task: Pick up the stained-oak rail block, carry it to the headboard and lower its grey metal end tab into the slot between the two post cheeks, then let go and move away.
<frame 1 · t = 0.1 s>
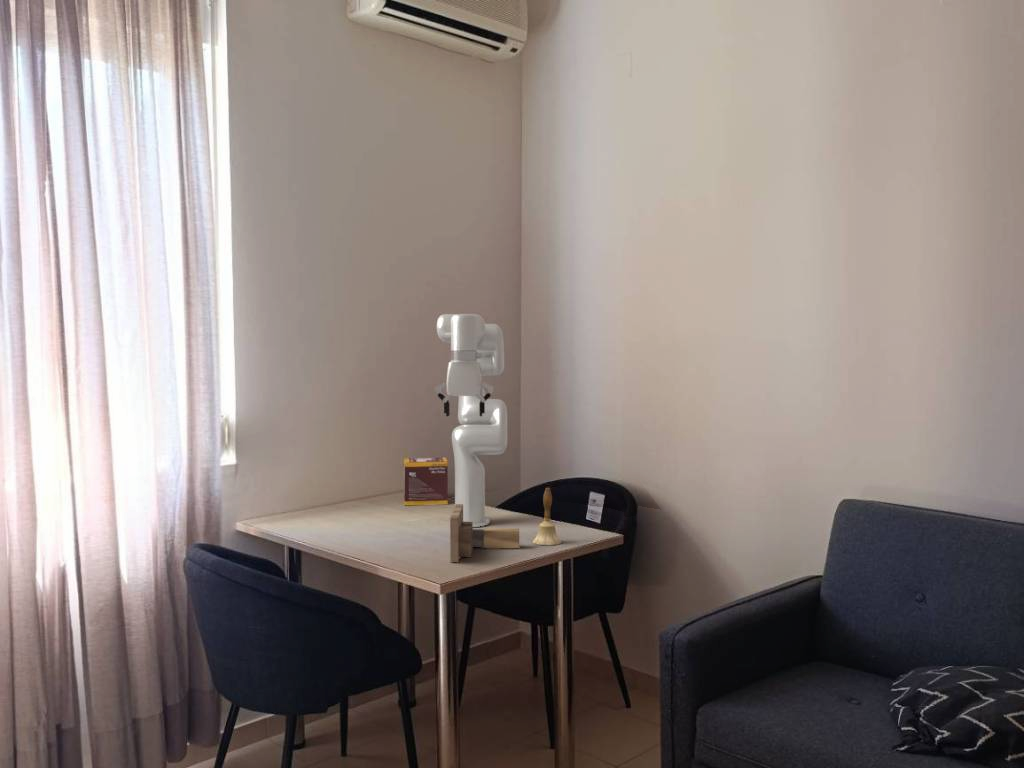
hand: (464, 415, 273), 37 cm above the table, tool pointing down, fingers open, 9 cm apart
supplement box: (425, 503, 336), on the table
rail: (501, 547, 267), on the table
hand bell: (547, 543, 272), on the table
headboard: (466, 553, 259), on the table
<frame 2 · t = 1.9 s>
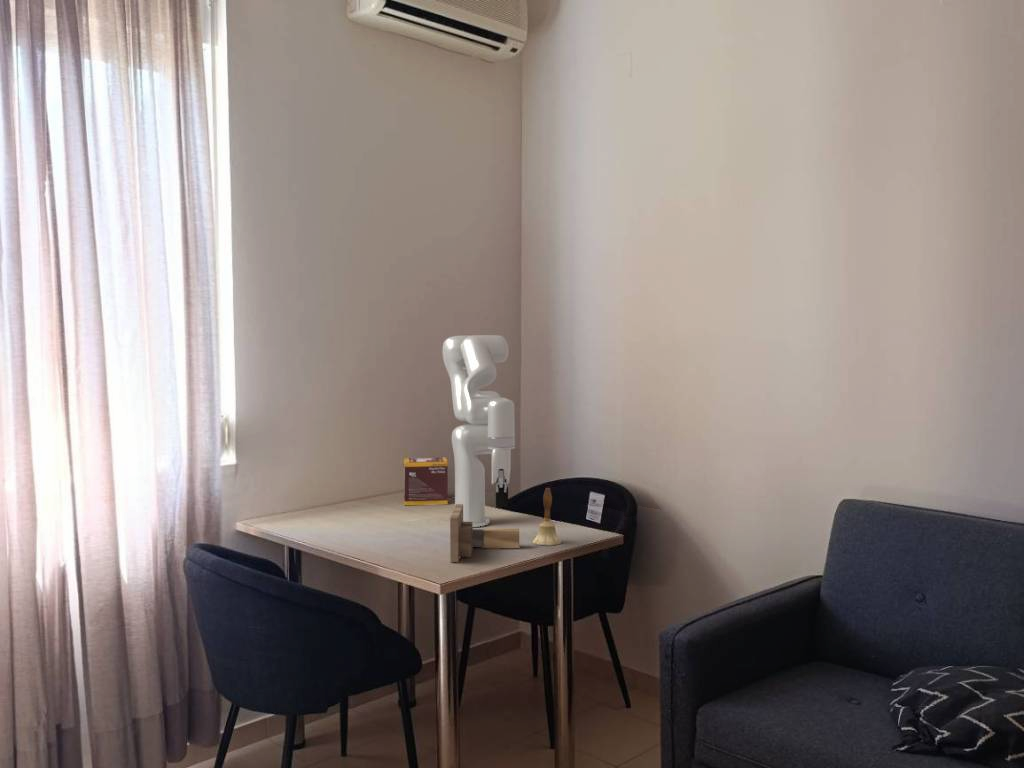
hand: (502, 503, 265), 13 cm above the table, tool pointing down, fingers open, 9 cm apart
nothing on the table moved.
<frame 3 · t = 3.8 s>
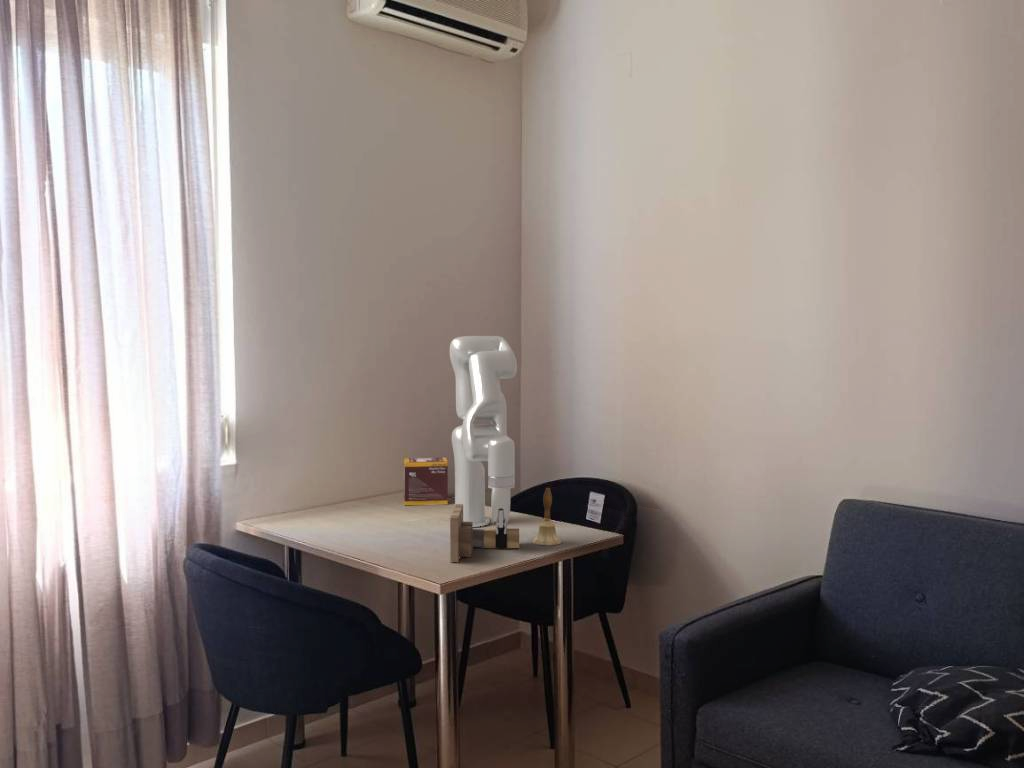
hand: (501, 545, 267), 0 cm above the table, tool pointing down, fingers closed on rail, 3 cm apart
rail: (501, 547, 267), on the table, touching gripper
everything else where it was.
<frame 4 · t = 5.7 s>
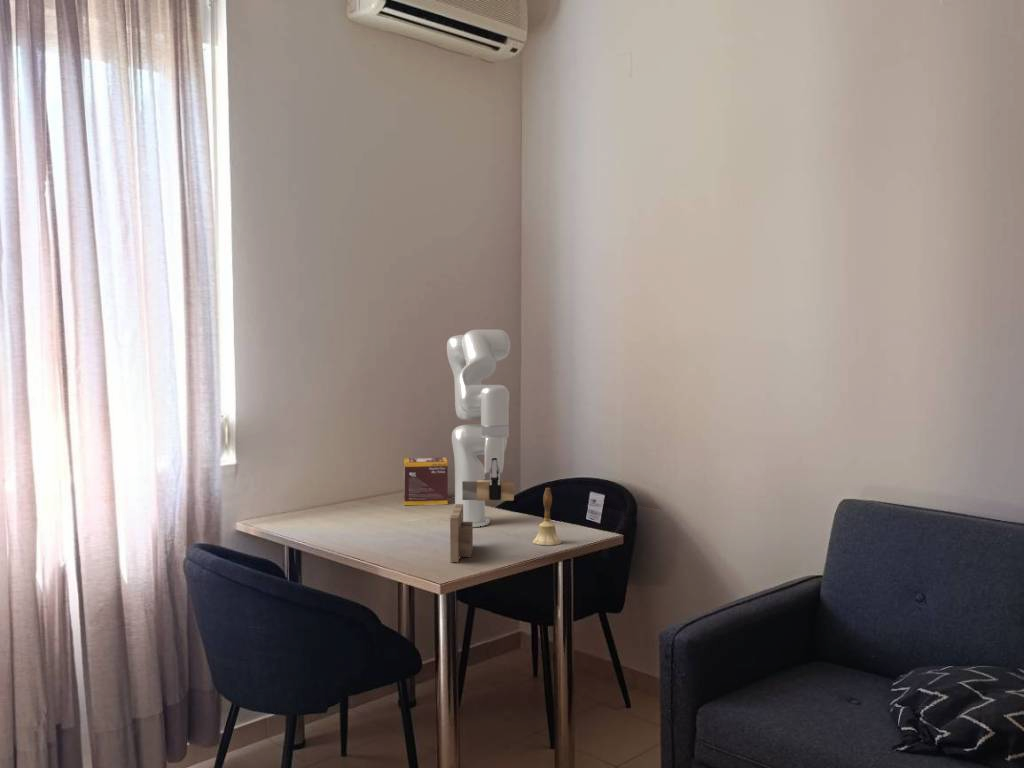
hand: (495, 497, 258), 16 cm above the table, tool pointing down, fingers closed on rail, 3 cm apart
rail: (495, 499, 258), point 15 cm above the table, touching gripper
everything else where it was.
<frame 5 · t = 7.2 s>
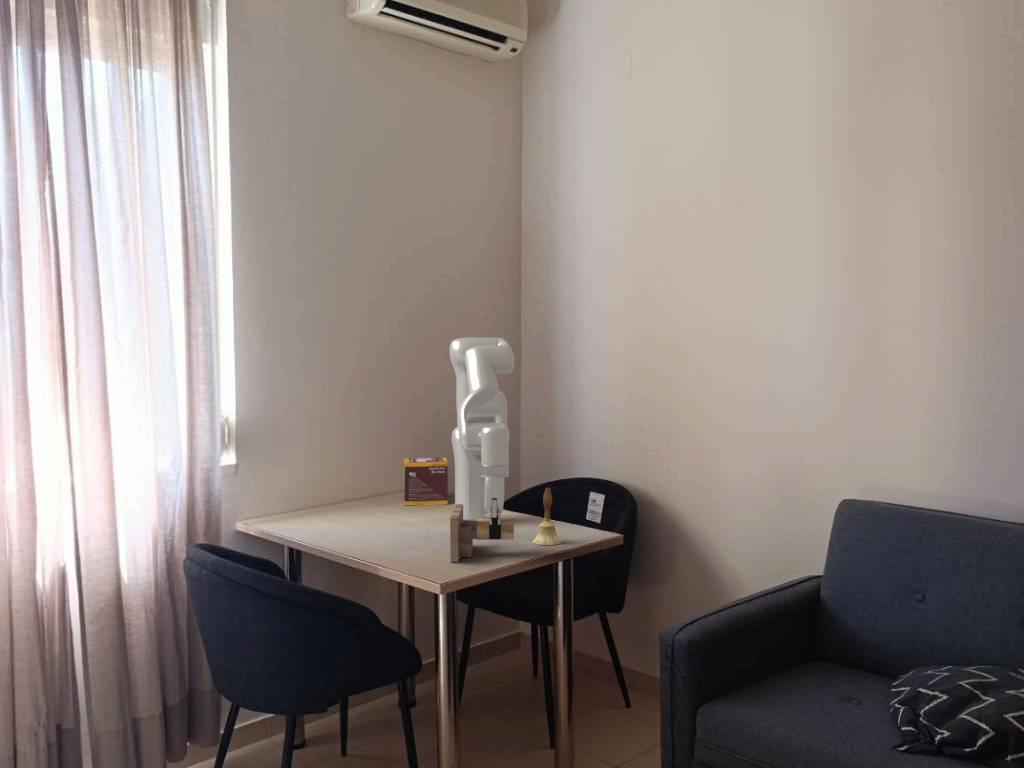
hand: (495, 536, 258), 5 cm above the table, tool pointing down, fingers closed on rail, 3 cm apart
rail: (495, 538, 258), point 4 cm above the table, touching gripper
everything else where it was.
when the fingers open (2 cm above the table, at t = 8.0 s): rail drops 1 cm, on the table.
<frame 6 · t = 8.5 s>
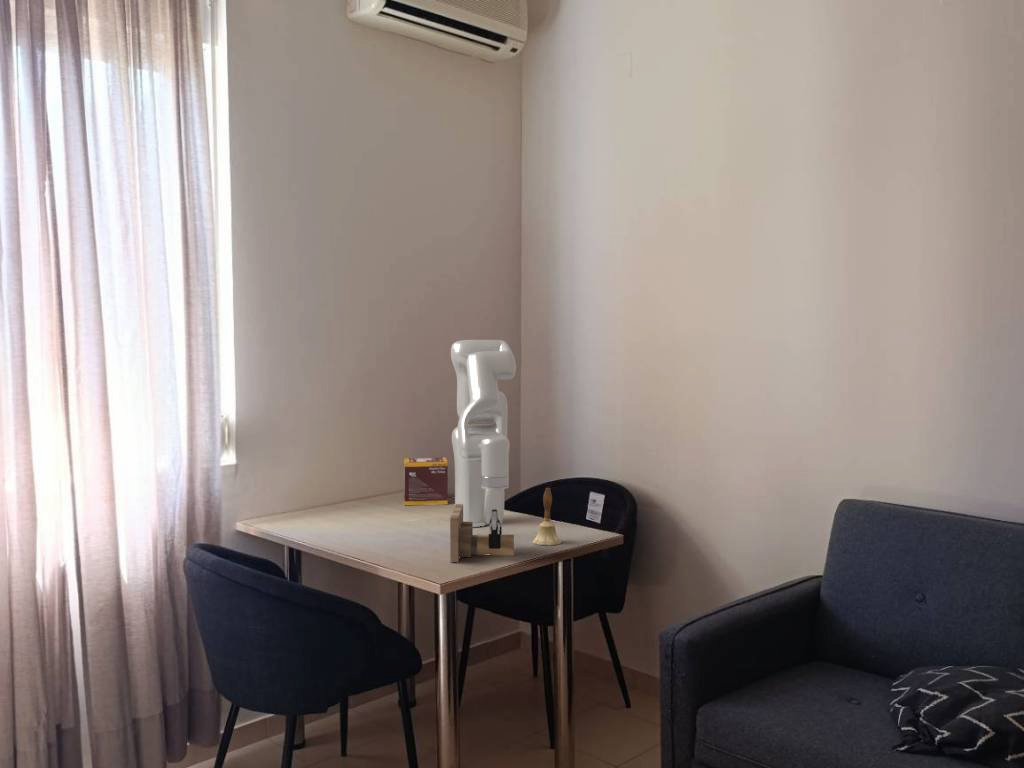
hand: (495, 544, 259), 3 cm above the table, tool pointing down, fingers open, 8 cm apart
rail: (495, 553, 259), on the table
everything else where it was.
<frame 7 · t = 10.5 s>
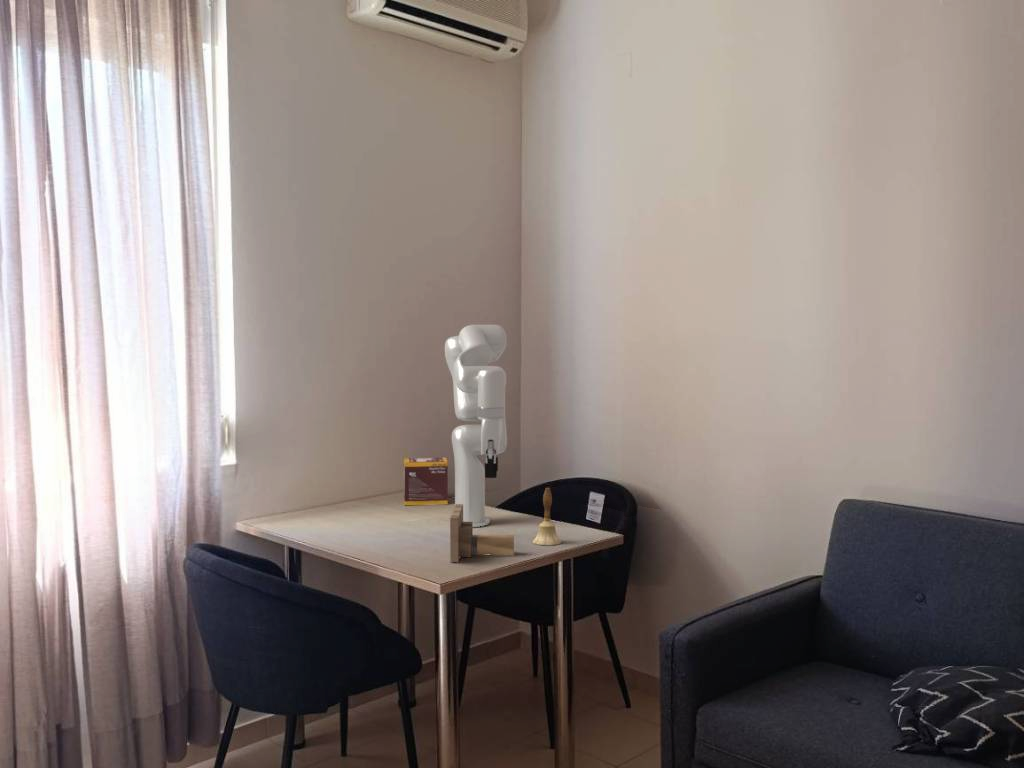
hand: (491, 474, 261), 21 cm above the table, tool pointing down, fingers open, 9 cm apart
nothing on the table moved.
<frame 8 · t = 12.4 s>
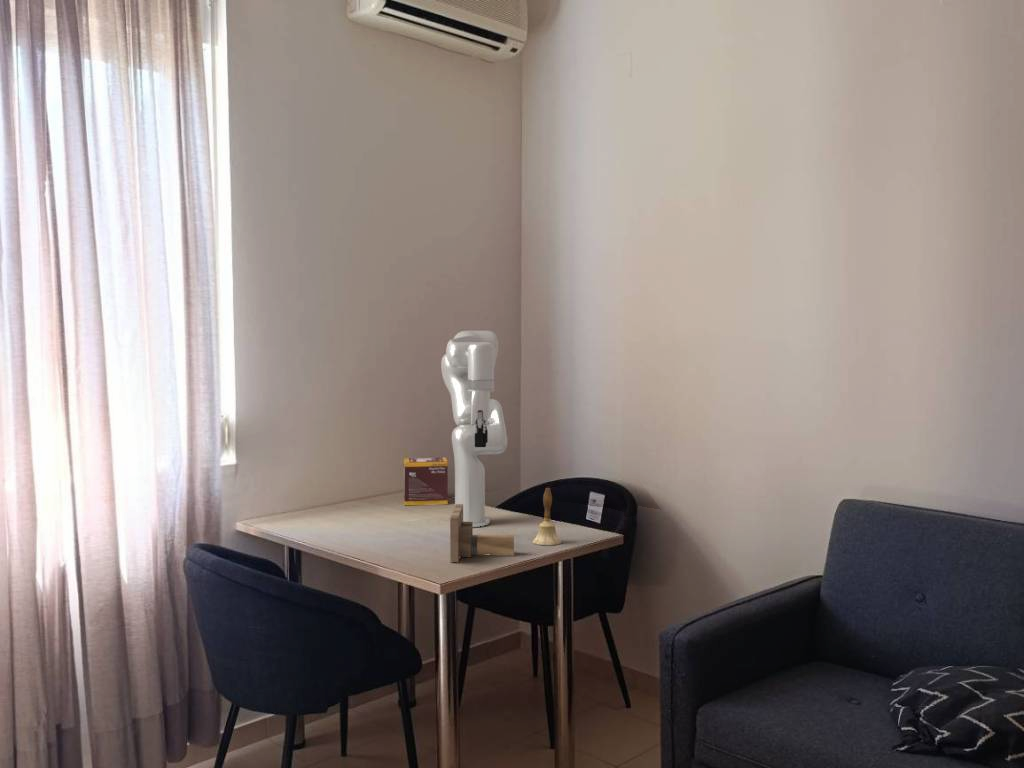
hand: (481, 445, 272), 28 cm above the table, tool pointing down, fingers open, 9 cm apart
nothing on the table moved.
at the end: rail 0.1 cm from the target spot on the table beside the headboard, on the table; rail tilted 0°; the gripper is holding nothing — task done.
